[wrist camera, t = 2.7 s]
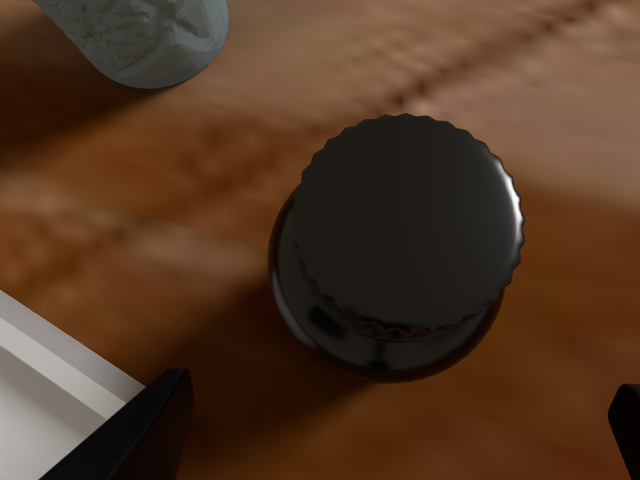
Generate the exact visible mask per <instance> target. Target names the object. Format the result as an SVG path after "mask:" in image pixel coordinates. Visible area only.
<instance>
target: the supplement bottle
mask: <svg viewBox="0 0 640 480" xmlns="http://www.w3.org/2000/svg"><path fill="white" fill-rule="evenodd" d="M301 181H302V182H301V183H300V184H299V185H298V186H297V187H296V189H295V190H294V191H293V192H292V193H291V195H290V196H289V197H288V199H287V200H286V201H285V203H284V205H283V207H282V208H281V210H280V212H279V214H278V216H277V218H276V221H275V223H274V226H273V229H272V232H271V236H270V240H269V246H268V254H267V270H268V280H269V285H270V290H271V294H272V297H273V300H274V303H275V305H276V308H277V311H278V313H279V315H280V317H281V319H282V321H283V323H284V324H285V326H286V327H287V329H288V330H289V332H290V333H291V335H292V336H293V337H294V338H295V340H296V341H297V342H298V343H299V344H300V345H301V346H302V347H303V348H304V349H305V350H306V351H307V352H308V353H309V354H310V355H311V356H313V357H314V358H315V359H316V360H318V361H319V362H321V363H322V364H324V365H325V366H327V367H329V368H331V369H333V370H334V371H336V372H339V373H341V374H343V375H346V376H348V377H352V378H355V379H358V380H363V381H368V382H374V383H403V382H411V381H415V380H420V379H424V378H427V377H430V376H433V375H436V374H438V373H440V372H442V371H444V370H447V369H448V368H450V367H452V366H453V365H455V364H457V363H458V362H459V361H461V360H462V359H463V358H465V357H466V356H467V355H468V354H469V353H470V352H471V351H473V350H474V349H475V348H476V347H477V345H478V344H479V343H480V342H481V341H482V340H483V338H484V337H485V335H486V334H487V333H488V331H489V330H490V328H491V326H492V324H493V323H494V321H495V319H496V317H497V314H498V312H499V309H500V307H501V303H502V300H503V297H504V291H505V287H506V286H508V285H509V284H510V283H511V279H512V273H513V270H514V269H515V268H516V267H517V266H518V265H519V263H520V249H521V247H522V246H523V244H524V242H525V237H524V234H523V230H522V228H523V226H524V222H525V217H524V214H523V212H522V211H521V209H520V206H521V197H520V195H519V194H518V192H517V191H516V190H515V188H514V182H513V177H512V176H511V175H510V174H509V173H508V172H507V171H506V170H505V169H504V167H503V163H502V161H501V159H500V158H499V157H497V156H496V155H494V154H492V153H491V152H490V150H489V148H488V146H487V145H486V143H484V142H482V141H479V140H477V139H474V138H473V137H472V135H471V134H470V133H469V132H468V131H467V130H463V129H458V128H456V127H454V126H453V125H452V124H451V123H449V122H448V121H436V120H434V119H433V118H431V117H429V116H417V117H416V116H413V115H411V114H407V113H404V114H400V115H397V116H391V115H386V114H384V115H382V116H380V117H378V118H376V119H364V120H363V121H361V122H360V123H359V124H358V125H356V126H352V127H346V128H345V129H344V130H343V131H342V132H341V133H340V134H339V136H336V137H333V138H330V139H328V141H327V142H326V144H325V146H324V148H323V149H322V150H320V151H318V152H316V153H315V154H314V155H313V158H312V162H311V164H310V165H309V166H308V167H307V168H306V169H305V170H304V171H303V172H302V178H301Z"/></svg>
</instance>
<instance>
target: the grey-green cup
mask: <svg viewBox="0 0 640 480" xmlns="http://www.w3.org/2000/svg"><path fill="white" fill-rule="evenodd" d="M33 1H34V2H35V3H37V4H38V5H39V6H40V7H41V9H42V10H43V11H44V13H45V14H46V15H47V16H48V17H50V18H51V19H53V21H54V23H55V24H56V26H58V27H59V28H60V29H61V30H62V31H63V33H64V34H65V35H66V36H67V37H68V38H69V39H70V40H71V41H72V42H73V43H74V44H75V45H76V46H77V47H78V48H79V50H80V51H81V52H82V53H83V55H84V56H85V57H86V58H87V59H88V60H89V61H90V62H91V63H92V64H93V65H94V66H95V67H96V69H98V70H99V71H100V72H101V73H103V74H104V75H105V76H107V77H108V78H110V79H112V80H113V81H115V82H118V83H120V84H122V85H125V86H129V87H133V88H143V89H156V88H163V87H168V86H173V85H175V84H178V83H181V82H184V81H186V80H188V79H190V78H192V77H193V76H195V75H196V74H198V73H200V72H201V71H202V70H204V69H205V68H206V67H207V66H208V65H209V64H210V63H211V62H212V61H213V60H214V59H215V58H216V56H217V55H218V53H219V52H220V50H221V49H222V48H223V46H224V43H225V40H226V36H227V32H228V24H229V23H230V22H229V16H228V8H227V4H226V0H33Z"/></svg>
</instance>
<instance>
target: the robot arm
mask: <svg viewBox="0 0 640 480" xmlns="http://www.w3.org/2000/svg"><path fill="white" fill-rule="evenodd" d="M193 404H194V392H193V387H192V382H191V377H190V372H189V370H188V369H187V368H181V367H170V368H167V369H166V370H165V371H163V372H162V373H161V374H160V375H159V376H158V377H156V378H155V379H154V380H153V381H152V382H151V383H149V384H148V385H147V386H146V387H145V388H144V389H143V390H141V391H140V392H139V393H138V394H137V395H136V396H134V397H133V398H132V399H131V400H130V401H129V402H127V403H126V404H125V405H124V406H123V407H122V408H121V409H119V410H118V411H117V412H116V413H115V414H114V415H112V416H111V417H110V418H109V419H108V420H107V421H105V422H104V423H103V424H102V425H101V426H100V427H98V428H97V429H96V430H95V431H94V432H93V433H92V434H90V435H89V436H88V437H87V438H86V439H85V440H83V441H82V442H81V443H80V444H79V445H78V446H76V447H75V448H74V449H73V450H72V451H71V452H70V453H68V454H67V455H66V456H65V457H64V458H63V459H61V460H60V461H59V462H58V463H57V464H56V465H54V466H53V467H52V468H51V469H50V470H49V471H47V472H46V473H45V474H44V475H43V476H42V477H41V478H39V479H38V480H175V478H176V474H177V471H178V467H179V463H180V459H181V455H182V450H183V446H184V442H185V438H186V434H187V430H188V426H189V421H190V417H191V413H192V409H193ZM608 420H609V424H610V427H611V429H612V432H613V434H614V437H615V439H616V442H617V444H618V447H619V449H620V452H621V455H622V457H623V460H624V462H625V465H626V467H627V470H628V472H629V475H630V477H631V480H640V384H622V385H621V386H620V387H619V388H618V390H617V393H616V395H615V397H614V399H613V401H612V403H611V405H610V408H609V410H608Z"/></svg>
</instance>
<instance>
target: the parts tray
mask: <svg viewBox="0 0 640 480" xmlns="http://www.w3.org/2000/svg"><path fill="white" fill-rule="evenodd" d="M144 388H145V386H144V385H142V384H141V383H139V382H138V381H136V380H135V379H133V378H132V377H130V376H129V375H127V374H126V373H124V372H123V371H121V370H120V369H118V368H117V367H115V366H114V365H112V364H111V363H109V362H108V361H106V360H105V359H103V358H102V357H100V356H99V355H97V354H96V353H94V352H93V351H91V350H90V349H88V348H87V347H85V346H84V345H82V344H81V343H79V342H78V341H76V340H75V339H73V338H72V337H70V336H69V335H67V334H66V333H64V332H63V331H61V330H60V329H58V328H57V327H55V326H54V325H52V324H51V323H49V322H48V321H46V320H45V319H43V318H42V317H40V316H39V315H37V314H36V313H34V312H33V311H31V310H30V309H28V308H27V307H25V306H24V305H22V304H21V303H19V302H18V301H16V300H15V299H13V298H12V297H10V296H9V295H7V294H6V293H4V292H3V291H1V290H0V480H38V479H39V478H41V477H42V476H43V475H44V474H45V473H46V472H47V471H49V470H50V469H51V468H52V467H53V466H54V465H56V464H57V463H58V462H59V461H60V460H61V459H63V458H64V457H65V456H66V455H67V454H68V453H70V452H71V451H72V450H73V449H74V448H75V447H76V446H78V445H79V444H80V443H81V442H82V441H83V440H85V439H86V438H87V437H88V436H89V435H90V434H92V433H93V432H94V431H95V430H96V429H97V428H98V427H100V426H101V425H102V424H103V423H104V422H105V421H107V420H108V419H109V418H110V417H111V416H112V415H114V414H115V413H116V412H117V411H118V410H119V409H121V408H122V407H123V406H124V405H125V404H126V403H127V402H129V401H130V400H131V399H132V398H133V397H134V396H136V395H137V394H138V393H139V392H140V391H141V390H143V389H144ZM190 418H191V417H190Z"/></svg>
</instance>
